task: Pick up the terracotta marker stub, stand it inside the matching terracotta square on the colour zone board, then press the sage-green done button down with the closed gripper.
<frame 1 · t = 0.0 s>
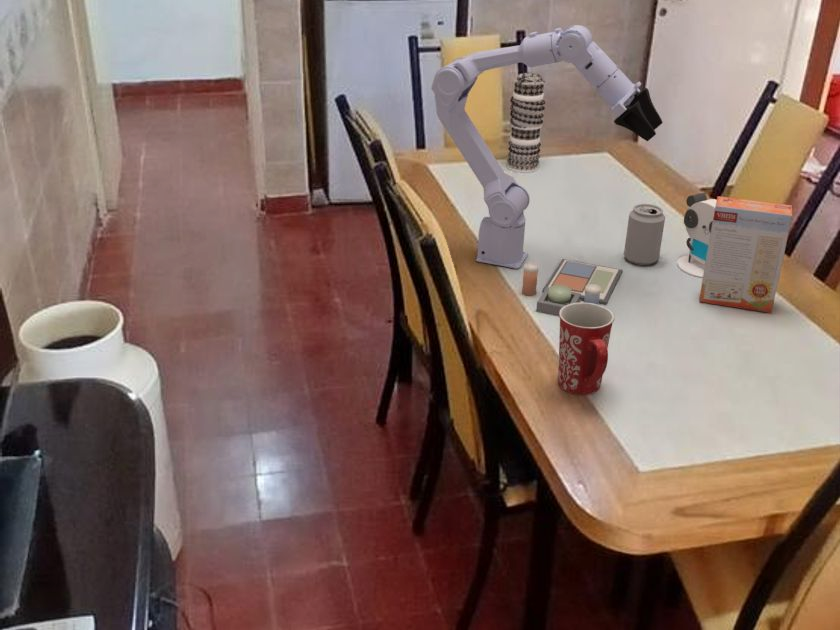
hand: (655, 131, 180), 32 cm above the table, tool tilted 50°, fingers open, 7 cm apart
slate blue marker: (589, 315, 183), on the table
mug: (581, 390, 161), on the table
button collar: (558, 306, 186), on the table
done button: (559, 294, 185), point 3 cm above the table, slide at 0.0 cm
colour zone board: (583, 282, 196), on the table
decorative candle: (522, 168, 256), on the table
terracotta marker: (529, 292, 191), on the table
cracker box: (734, 302, 190), on the table
panda figurine: (703, 267, 204), on the table
can: (640, 260, 206), on the table
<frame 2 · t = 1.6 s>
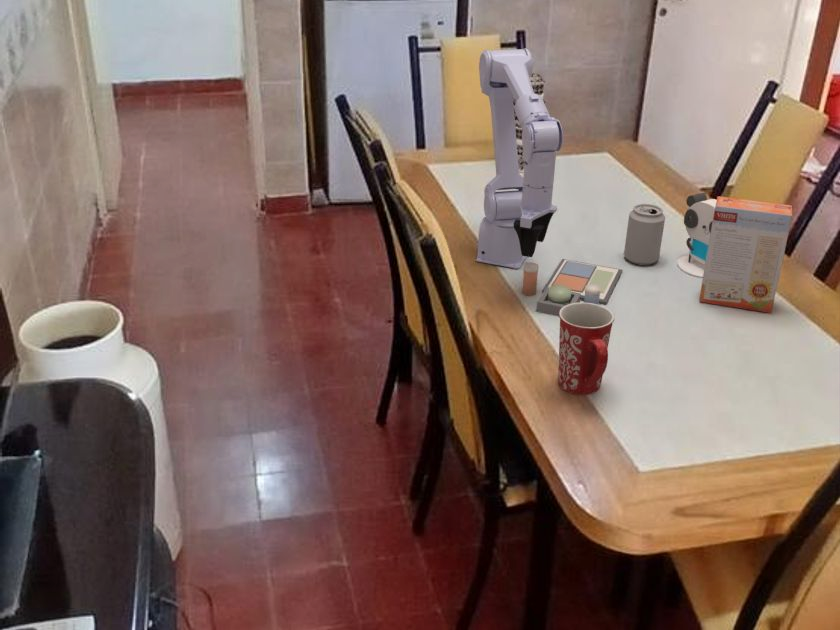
hand: (532, 248, 187), 10 cm above the table, tool pointing down, fingers open, 7 cm apart
nothing on the table moved.
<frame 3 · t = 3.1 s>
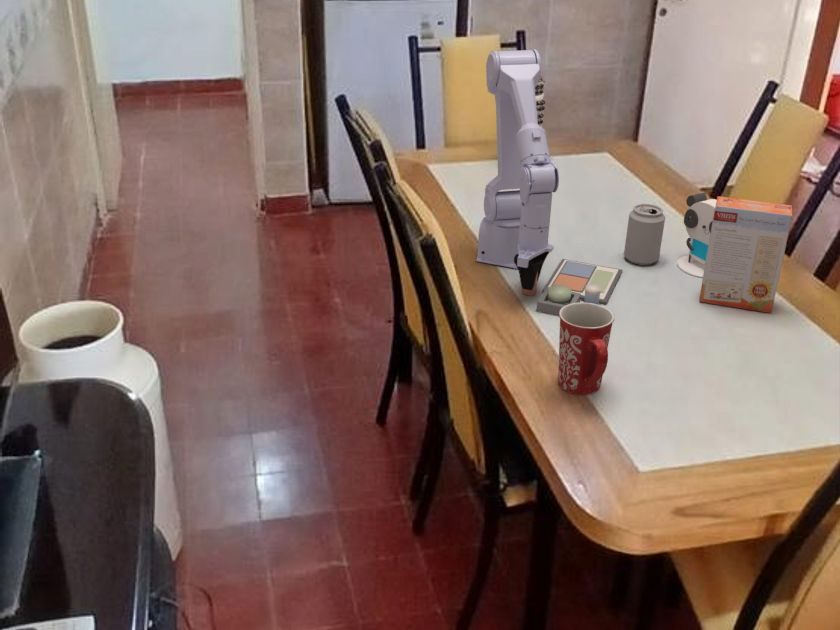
hand: (529, 285, 191), 2 cm above the table, tool pointing down, fingers closed on terracotta marker, 3 cm apart
terracotta marker: (529, 292, 191), on the table, touching gripper
everything else where it was.
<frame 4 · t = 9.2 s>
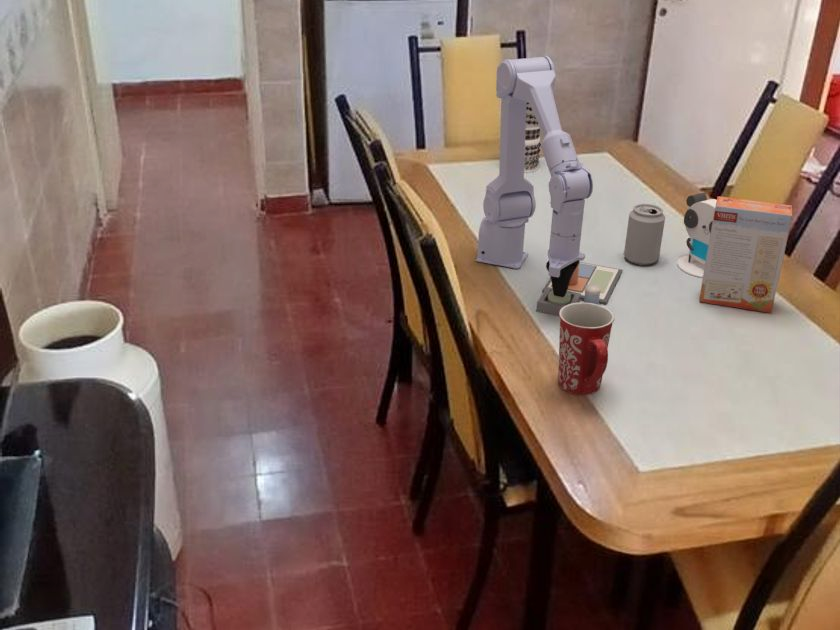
hand: (559, 295, 185), 3 cm above the table, tool pointing down, fingers closed, pressing on done button
done button: (559, 299, 186), point 2 cm above the table, slide at 1.1 cm, touching gripper
terracotta marker: (570, 282, 194), point 1 cm above the table, touching colour zone board
everything else where it was.
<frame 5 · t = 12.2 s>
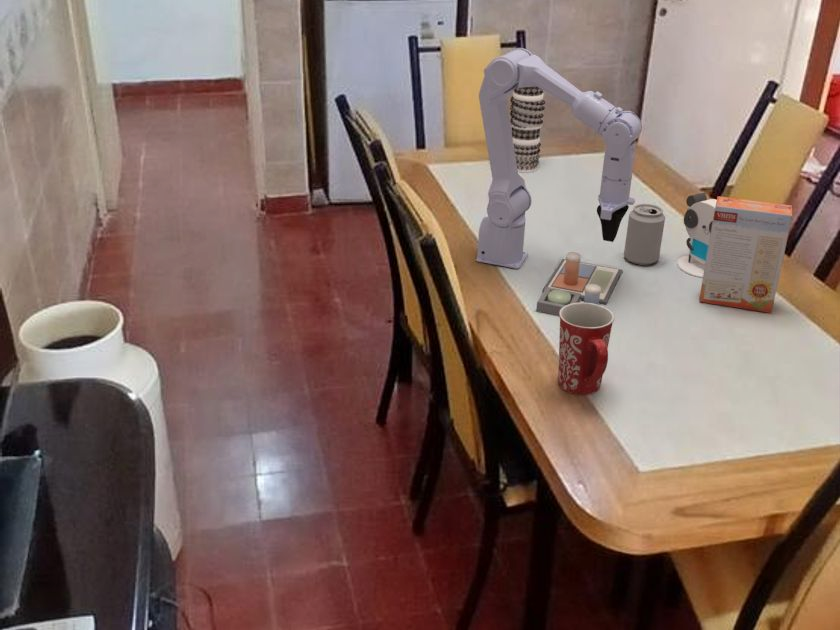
hand: (608, 239, 191), 10 cm above the table, tool pointing down, fingers closed
done button: (559, 299, 186), point 2 cm above the table, slide at 1.1 cm
everything else where it was.
at the end: terracotta marker 0.0 cm from the target spot on the colour zone board, point 1.0 cm above the colour zone board's base; terracotta marker tilted 0°; done button slide at 1.1 cm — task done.
